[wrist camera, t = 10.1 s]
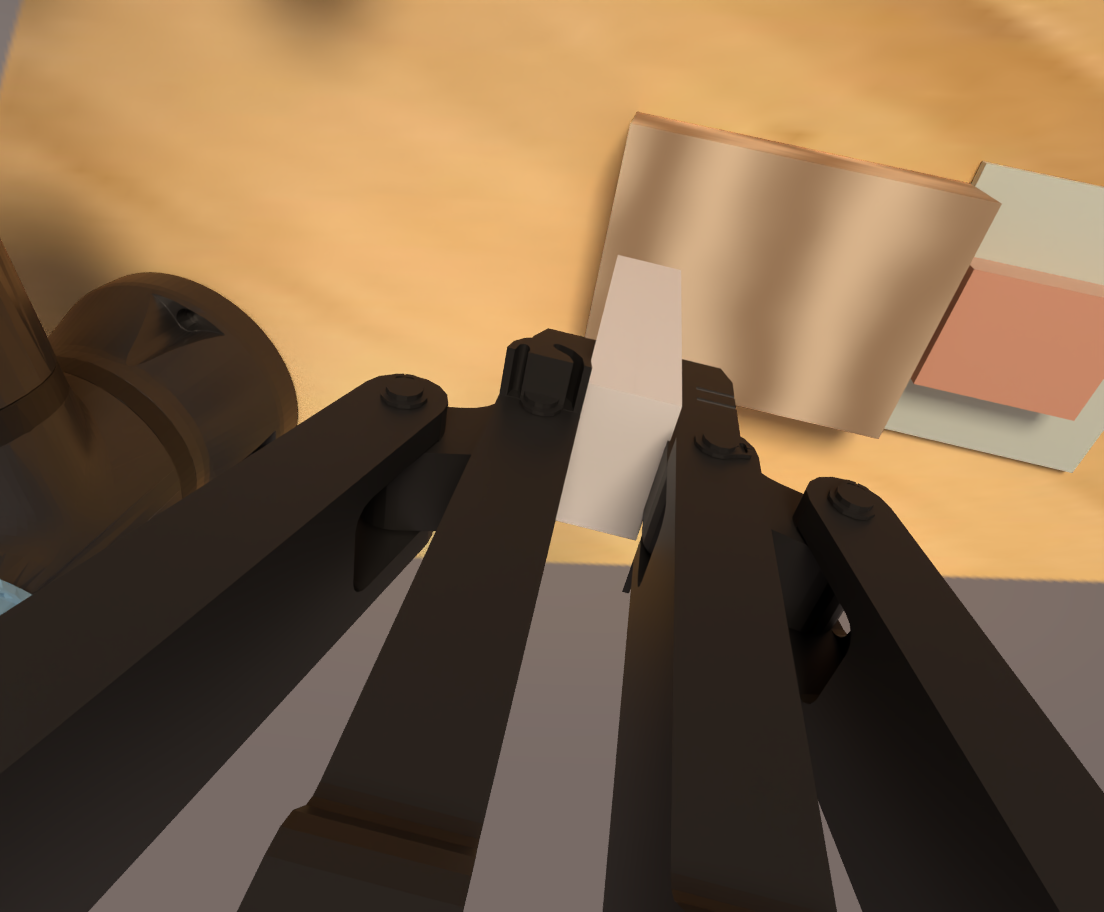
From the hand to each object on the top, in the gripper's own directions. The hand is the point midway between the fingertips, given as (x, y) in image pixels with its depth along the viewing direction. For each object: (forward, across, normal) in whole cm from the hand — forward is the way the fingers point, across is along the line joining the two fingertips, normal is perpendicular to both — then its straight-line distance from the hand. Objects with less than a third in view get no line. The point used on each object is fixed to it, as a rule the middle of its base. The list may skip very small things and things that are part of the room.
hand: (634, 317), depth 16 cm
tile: (+20, +19, -4) cm, 28 cm away
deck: (+21, +7, -4) cm, 23 cm away
